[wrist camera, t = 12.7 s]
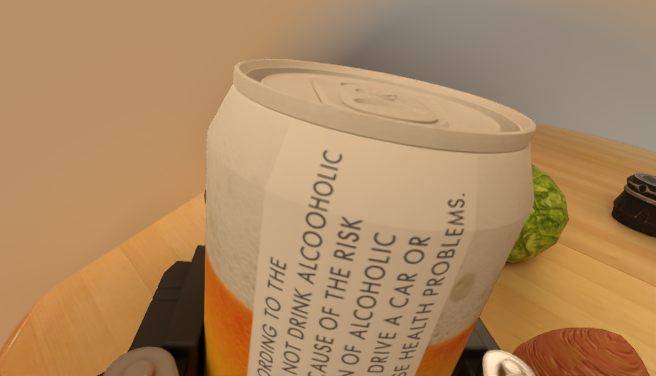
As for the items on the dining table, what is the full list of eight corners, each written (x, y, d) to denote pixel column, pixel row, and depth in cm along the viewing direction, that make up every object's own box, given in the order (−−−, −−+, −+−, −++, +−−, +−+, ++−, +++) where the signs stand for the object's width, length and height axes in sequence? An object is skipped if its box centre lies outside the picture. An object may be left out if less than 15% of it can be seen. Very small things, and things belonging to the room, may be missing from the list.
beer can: (359, 417, 16) (472, 87, 9) (379, 629, 10) (686, 176, 4) (226, 406, 15) (249, 47, 9) (172, 621, 10) (126, 85, 3)
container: (593, 209, 78) (616, 169, 73) (633, 210, 81) (657, 172, 77) (652, 242, 67) (683, 198, 62) (695, 242, 70) (727, 200, 66)
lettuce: (465, 221, 70) (543, 271, 61) (412, 220, 51) (514, 292, 42) (507, 157, 66) (597, 200, 57) (466, 129, 47) (591, 187, 38)
